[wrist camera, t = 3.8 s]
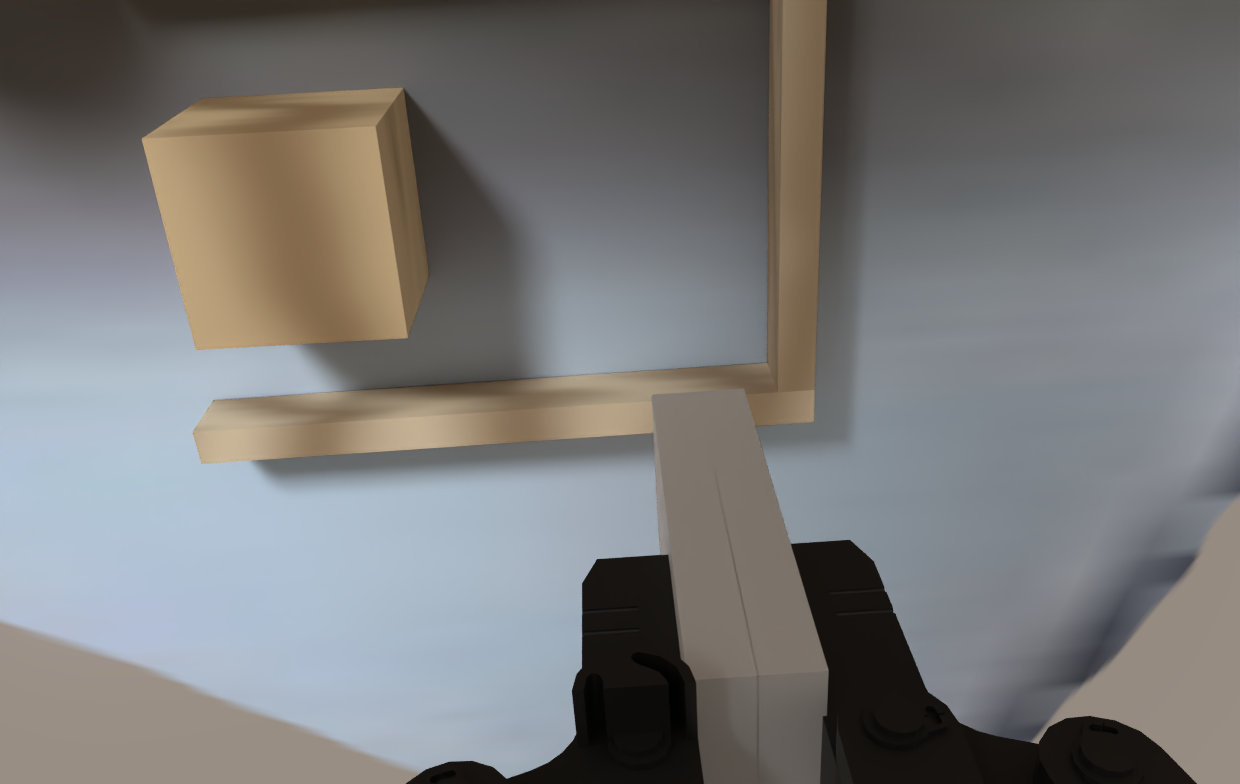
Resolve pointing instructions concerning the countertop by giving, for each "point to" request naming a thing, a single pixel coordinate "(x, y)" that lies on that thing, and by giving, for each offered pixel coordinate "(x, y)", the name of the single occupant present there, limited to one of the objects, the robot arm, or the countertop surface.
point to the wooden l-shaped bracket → (598, 398)
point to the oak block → (292, 217)
